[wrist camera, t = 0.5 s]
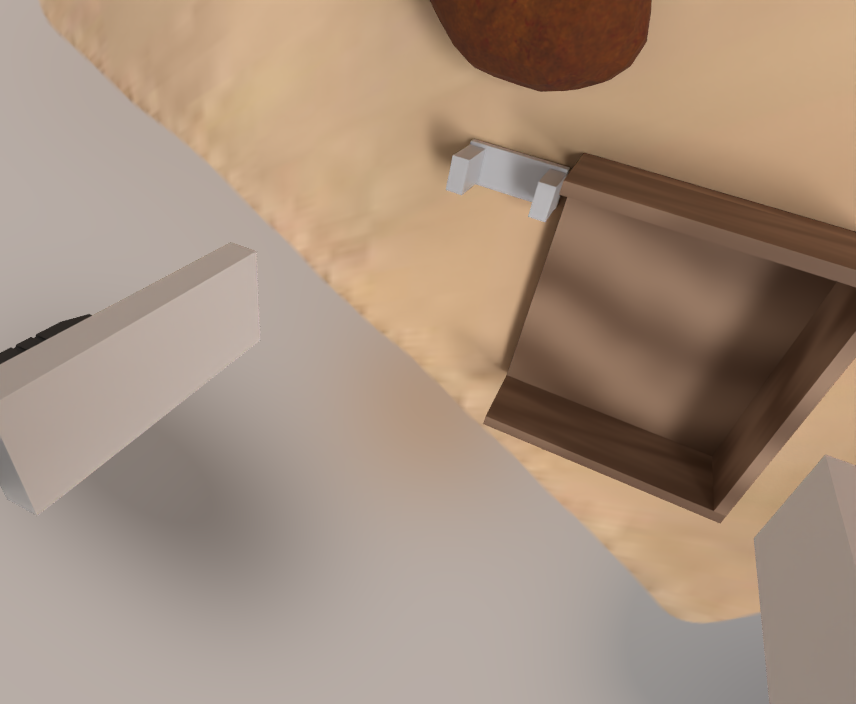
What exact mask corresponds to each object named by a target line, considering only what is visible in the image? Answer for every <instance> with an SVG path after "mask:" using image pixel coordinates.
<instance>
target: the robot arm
mask: <svg viewBox="0 0 856 704" xmlns="http://www.w3.org/2000/svg"><path fill="white" fill-rule="evenodd" d="M259 341H260V322H259V300H258V278H257V255H256V251H254V250H251V249H249V248H246V247H243V246H240V245H237V244H234V243H231V242H230V243H228V244H227V245H225V246H223V247H221V248H219V249H217V250H215V251H213V252H211V253H210V254H208V255H206V256H204V257H202V258H200V259H198V260H196V261H195V262H193V263H191V264H189V265H187V266H185V267H183V268H181V269H179V270H177V271H176V272H174V273H172V274H170V275H168V276H166V277H164V278H162V279H160V280H159V281H157V282H155V283H153V284H151V285H149V286H148V287H146V288H143V289H142V290H140V291H138V292H136V293H134V294H132V295H131V296H128V297H126V298H125V299H123V300H121V301H119V302H117V303H115V304H113V305H111V306H109V307H108V308H106V309H104V310H102V311H100V312H98V313H96V314H94V315H90V314H88V315H84V316H80V317H77V318H73V319H70V320H66V321H62V322H60V323H58V324H56V325H54V326H52V327H50V328H48V329H46V330H44V331H42V332H40V333H38V334H36V337H35V338H32V337H30V338H28V339H26V340H25V341H23V342H21V343H19V344H17V345H16V347H15V348H14V349H13V348H9V349H7V350H5V351H3V352H1V353H0V486H1V488H2V490H3V492H4V494H5V496H6V498H7V499H8V500H9V501H11V502H13V503H15V504H17V505H18V506H20V507H22V508H24V509H26V510H27V511H29V512H31V513H33V514H35V515H36V516H37V515H39V514H40V513H42V512H43V511H44V510H45V509H47V508H48V507H49V506H50V505H52V504H53V503H54V502H56V501H57V500H58V499H59V498H60V497H62V496H63V495H64V494H66V493H67V492H68V491H70V490H71V489H72V488H73V487H75V486H76V485H77V484H78V483H80V482H81V481H82V480H84V479H85V478H86V477H87V476H89V475H90V474H91V473H92V472H94V471H95V470H96V469H97V468H99V467H100V466H101V465H103V464H104V463H105V462H106V461H108V460H109V459H110V458H111V457H113V456H114V455H115V454H117V453H118V452H119V451H120V450H122V449H123V448H124V447H125V446H127V445H128V444H129V443H131V442H132V441H133V440H134V439H136V438H137V437H138V436H139V435H141V434H142V433H143V432H144V431H146V430H147V429H148V428H149V427H151V426H152V425H153V424H155V423H156V422H157V421H158V420H160V419H161V418H162V417H164V416H165V415H166V414H167V413H168V412H170V411H171V410H172V409H174V408H175V407H176V406H178V405H179V404H180V403H181V402H183V401H184V400H185V399H186V398H188V397H189V396H190V395H191V394H193V393H194V392H195V391H197V390H198V389H199V388H200V387H202V386H203V385H204V384H205V383H207V382H208V381H209V380H211V379H212V378H213V377H214V376H216V375H217V374H218V373H219V372H221V371H222V370H223V369H225V368H226V367H227V366H228V365H230V364H231V363H232V362H233V361H235V360H236V359H237V358H238V357H240V356H241V355H242V354H243V353H245V352H246V351H247V350H248V349H250V348H251V347H252V346H254V345H255V344H256V343H258V342H259ZM754 546H755V556H756V567H757V577H758V588H759V598H760V609H761V619H762V630H763V639H764V651H765V661H766V672H767V682H768V692H769V703H770V704H856V465H853V464H850V463H848V462H845V461H842V460H839V459H836V458H834V457H831V456H828V455H824V457H823V458H822V459H821V460H820V461H819V462H818V464H817V465H816V466H815V467H814V468H813V469H812V471H811V472H810V473H809V474H808V475H807V477H806V478H805V479H804V480H803V481H802V482H801V484H800V485H799V486H798V487H797V488H796V489H795V491H794V492H793V493H792V494H791V495H790V496H789V498H788V499H787V500H786V501H785V502H784V504H783V505H782V506H781V507H780V508H779V509H778V511H777V512H776V513H775V514H774V515H773V516H772V518H771V519H770V520H769V521H768V522H767V523H766V525H765V526H764V527H763V528H762V529H761V530H760V532H759V533H758V534H757V535H756V536H755V538H754Z"/></svg>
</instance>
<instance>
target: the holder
mask: <svg viewBox="0 0 856 704" xmlns="http://www.w3.org/2000/svg"><path fill="white" fill-rule="evenodd" d="M559 195H562V196H565V197H567V200H566V203H565V205H564V208H563V211H562V214H561V217H560V220H559V223H558V226H557V229H556V232H555V235H554V238H553V241H552V244H551V247H550V250H549V252H548V255H547V258H546V261H545V264H544V267H543V270H542V273H541V276H540V279H539V282H538V285H537V288H536V291H535V294H534V297H533V300H532V302H531V305H530V308H529V311H528V314H527V317H526V320H525V323H524V326H523V329H522V332H521V335H520V338H519V341H518V344H517V347H516V350H515V352H514V355H513V358H512V361H511V364H510V367H509V370H508V373H507V376H506V378H505V380H504V382H503V384H502V385H501V387H500V389H499V391H498V393H497V395H496V397H495V399H494V401H493V403H492V405H491V407H490V409H489V411H488V413H487V415H486V417H485V420H484V423H483V424H485V425H487V426H490V427H492V428H494V429H497V430H499V431H502V432H504V433H506V434H509V435H511V436H513V437H516V438H518V439H521V440H523V441H525V442H528V443H530V444H532V445H535V446H537V447H540V448H542V449H544V450H547V451H549V452H551V453H554V454H556V455H559V456H561V457H563V458H566V459H568V460H571V461H573V462H575V463H578V464H580V465H582V466H585V467H587V468H590V469H592V470H594V471H597V472H599V473H601V474H604V475H606V476H609V477H611V478H613V479H616V480H618V481H620V482H623V483H625V484H628V485H630V486H632V487H635V488H637V489H639V490H642V491H644V492H647V493H649V494H651V495H654V496H656V497H659V498H661V499H663V500H666V501H668V502H670V503H673V504H675V505H678V506H680V507H682V508H685V509H687V510H689V511H692V512H694V513H697V514H699V515H701V516H704V517H706V518H708V519H711V520H713V521H716V522H718V523H721V522H722V521H723V519H724V518H725V517H726V516H727V515H728V513H729V512H730V511H731V510H732V508H733V507H734V506H735V505H736V503H737V502H738V501H739V500H740V499H741V497H742V496H743V495H744V494H745V492H746V491H747V490H748V489H749V488H750V486H751V485H752V484H753V483H754V481H755V480H756V479H757V478H758V477H759V475H760V474H761V473H762V472H763V470H764V469H765V468H766V467H767V466H768V464H769V463H770V462H771V461H772V459H773V458H774V457H775V456H776V454H777V453H778V452H779V451H780V450H781V448H782V447H783V446H784V445H785V443H786V442H787V441H788V440H789V439H790V437H791V436H792V435H793V434H794V432H795V431H796V430H797V429H798V428H799V426H800V425H801V424H802V423H803V421H804V420H805V419H806V418H807V417H808V415H809V414H810V413H811V412H812V410H813V409H814V408H815V407H816V405H817V404H818V403H819V402H820V401H821V399H822V398H823V397H824V396H825V394H826V393H827V392H828V391H829V390H830V388H831V387H832V386H833V385H834V383H835V382H836V381H837V380H838V379H839V377H840V376H841V375H842V374H843V372H844V371H845V370H846V369H847V368H848V366H849V365H850V364H851V363H852V361H853V360H854V359H855V358H856V232H854V231H851V230H847V229H844V228H841V227H837V226H834V225H830V224H827V223H823V222H820V221H817V220H813V219H810V218H806V217H803V216H799V215H796V214H793V213H789V212H786V211H782V210H779V209H776V208H772V207H769V206H765V205H762V204H758V203H755V202H752V201H748V200H745V199H741V198H738V197H735V196H731V195H728V194H724V193H721V192H717V191H714V190H711V189H707V188H704V187H700V186H697V185H693V184H690V183H687V182H683V181H680V180H676V179H673V178H670V177H666V176H663V175H659V174H656V173H652V172H649V171H646V170H642V169H639V168H635V167H632V166H628V165H625V164H622V163H618V162H615V161H611V160H608V159H605V158H601V157H598V156H594V155H591V154H587V153H584V154H583V155H582V156H581V158H580V159H579V160H578V162H577V163H576V164H575V166H574V167H573V168H572V170H571V171H570V173H569V174H568V175H567V177H566V178H565V179H564V181H563V184H562V187H561V190H560V193H559Z"/></svg>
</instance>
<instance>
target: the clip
mask: <svg viewBox="0 0 856 704" xmlns="http://www.w3.org/2000/svg"><path fill="white" fill-rule="evenodd" d="M569 169H570V167H567V166H563V165H560V164H557V163H553V162H550V161H547V160H543V159H540V158H537V157H533V156H530V155H527V154H524V153H520V152H517V151H514V150H510V149H507V148H504V147H500V146H497V145H494V144H490V143H487V142H484V141H480V140H477V139H473V140H471V143H470V145H468V146H466V147H465V148H463V149H462V150H460V151H458V152H457V153H455V154H454V155H453V156H452V161H451V166H450V171H449V176H448V181H447V186H446V190H448V191H451V192H454V193H457V194H460V195H463V194H464V193H465V192H466V191H467V190H469V189H470V188H471V187H472V186H473V185H475V184H477V185H480V186H483V187H486V188H489V189H492V190H495V191H498V192H502V193H505V194H508V195H511V196H514V197H517V198H520V199H524V200H527V201H530V202H532V205H531V209H530V212H529V215H528V217H531V218H534V219H537V220H540V221H543V222H546V220H547V219H548V217H549V216H550V215H551V213H552V212H553V210H554V209H556V208H557V205H558V202H559V199H560V196H561V195H559V193H560V190H561V187H562V184H563V181H564V179H565V178H566V177H567V175H568V172H569Z"/></svg>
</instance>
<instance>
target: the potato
mask: <svg viewBox="0 0 856 704" xmlns="http://www.w3.org/2000/svg"><path fill="white" fill-rule="evenodd" d="M430 2H431V4H432V6H433V8H434V10H435V12H436V14H437V16H438V18H439V20H440V22H441V23H442V25H443V27H444V29H445V30H446V32H447V34H448V36H449V38H450V39H451V41H452V43H453V45H454V46H455V47H456V48H457V49H458V50H459V51H460V53H461V54H462V55H463V56H464V57H465V58H466V59H467V60H468V62H469V63H471V64H472V65H473V66H474V67H475V68H477V69H479V70H481V71H483V72H486V73H488V74H490V75H492V76H494V77H497V78H500V79H503V80H506V81H508V82H511V83H514V84H517V85H520V86H524V87H527V88H530V89H534V90H537V91H540V92H542V91H567V90H576V89H581V88H584V87H588V86H592V85H596V84H599V83H603V82H605V81H608V80H610V79H612V78H613V77H615V76H616V75H618V74H619V73H621V72H622V71H624V70H625V69H627V68H628V67H630V66H631V65H632V63H633V62H634V60H635V59H636V57H637V56H638V54H639V53H640V51H641V50H642V48H643V46H644V45H645V43H646V42H647V35H648V28H649V21H650V14H651V0H430Z"/></svg>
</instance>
